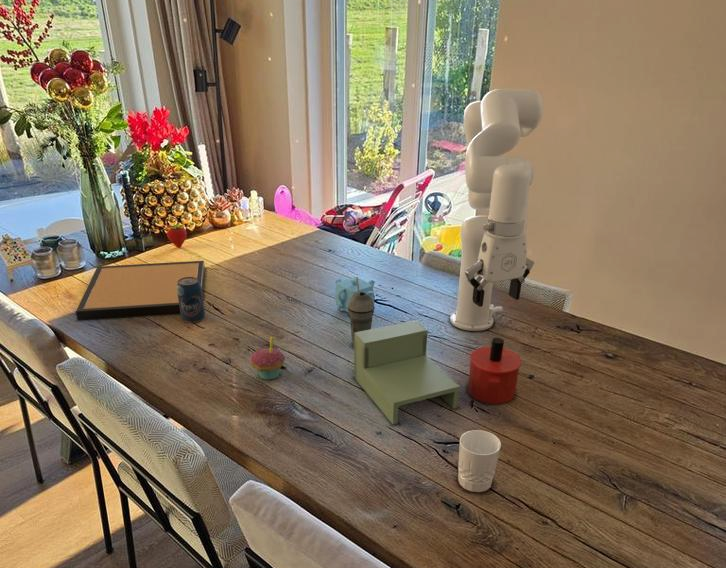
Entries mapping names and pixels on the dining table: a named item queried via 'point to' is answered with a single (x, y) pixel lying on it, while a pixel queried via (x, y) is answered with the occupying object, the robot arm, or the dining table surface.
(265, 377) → the cupcake
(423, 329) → the green step stand
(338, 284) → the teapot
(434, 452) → the dining table surface
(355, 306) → the beverage cup
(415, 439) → the dining table surface
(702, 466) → the dining table surface
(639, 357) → the dining table surface
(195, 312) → the soda can
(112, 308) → the cork board
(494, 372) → the lid
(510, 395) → the pot
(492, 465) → the white cup
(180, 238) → the strawberry
